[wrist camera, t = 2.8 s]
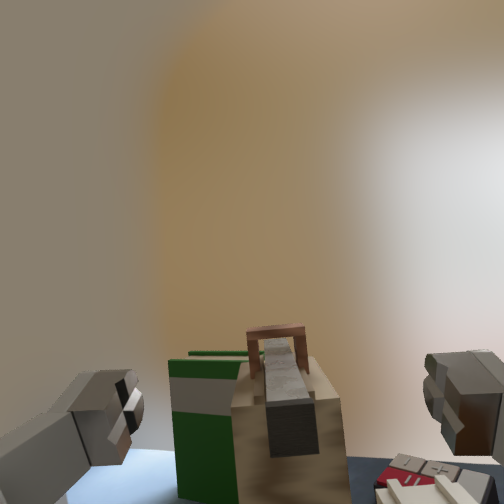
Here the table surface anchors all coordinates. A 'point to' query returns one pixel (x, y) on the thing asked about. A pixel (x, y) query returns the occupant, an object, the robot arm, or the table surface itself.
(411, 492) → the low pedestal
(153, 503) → the table surface
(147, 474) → the table surface
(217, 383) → the hardback book
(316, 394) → the paper bag with handle
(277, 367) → the grey square bar
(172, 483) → the table surface
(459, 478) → the calculator
